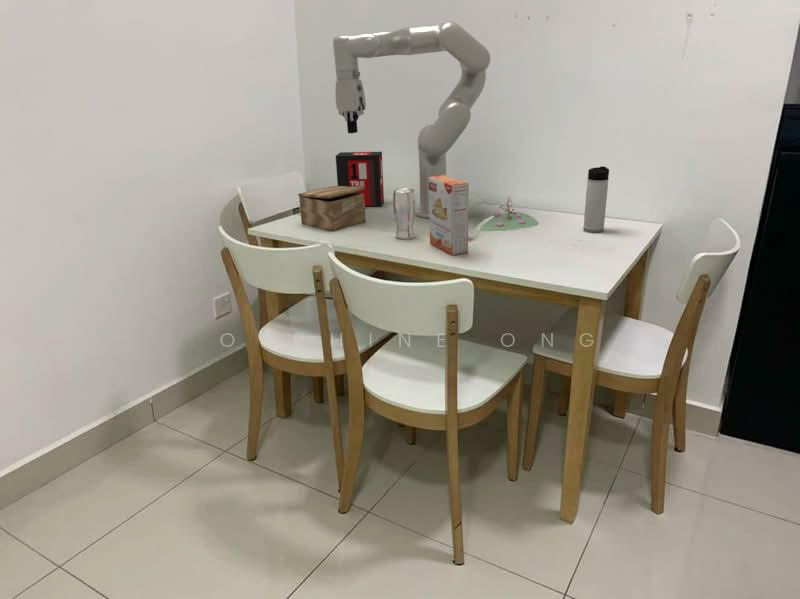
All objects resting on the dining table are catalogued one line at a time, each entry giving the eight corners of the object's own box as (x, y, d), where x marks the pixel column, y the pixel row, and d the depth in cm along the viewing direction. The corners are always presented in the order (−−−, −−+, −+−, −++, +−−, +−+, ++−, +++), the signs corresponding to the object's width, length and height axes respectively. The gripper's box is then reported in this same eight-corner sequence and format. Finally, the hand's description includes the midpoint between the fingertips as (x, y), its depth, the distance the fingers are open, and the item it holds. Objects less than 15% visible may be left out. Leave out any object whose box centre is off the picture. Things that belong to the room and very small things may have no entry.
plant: (515, 238, 193) (517, 210, 190) (459, 229, 204) (459, 203, 201) (547, 220, 212) (548, 194, 208) (494, 213, 223) (494, 189, 220)
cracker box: (428, 244, 188) (427, 176, 180) (445, 241, 190) (445, 174, 182) (450, 256, 176) (450, 184, 168) (468, 253, 178) (469, 181, 171)
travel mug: (607, 229, 196) (613, 167, 189) (597, 234, 192) (603, 170, 185) (589, 226, 200) (594, 165, 193) (579, 231, 196) (584, 168, 189)
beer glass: (391, 238, 195) (389, 192, 189) (398, 233, 201) (397, 187, 195) (411, 240, 192) (410, 193, 187) (418, 234, 198) (417, 188, 193)
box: (366, 221, 215) (364, 193, 212) (332, 231, 205) (330, 202, 201) (335, 215, 226) (333, 188, 222) (301, 224, 215) (299, 196, 211)
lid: (365, 189, 211) (364, 187, 211) (329, 198, 200) (329, 196, 200) (333, 188, 222) (333, 185, 222) (298, 196, 211) (298, 193, 211)
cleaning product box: (339, 208, 237) (335, 155, 229) (343, 202, 245) (340, 152, 238) (381, 207, 235) (378, 155, 228) (384, 202, 243) (381, 151, 236)
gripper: (371, 74, 200) (376, 131, 207) (339, 75, 209) (344, 130, 216) (356, 76, 195) (361, 135, 201) (323, 77, 204) (329, 133, 210)
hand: (352, 132), depth 209 cm, fingers closed
